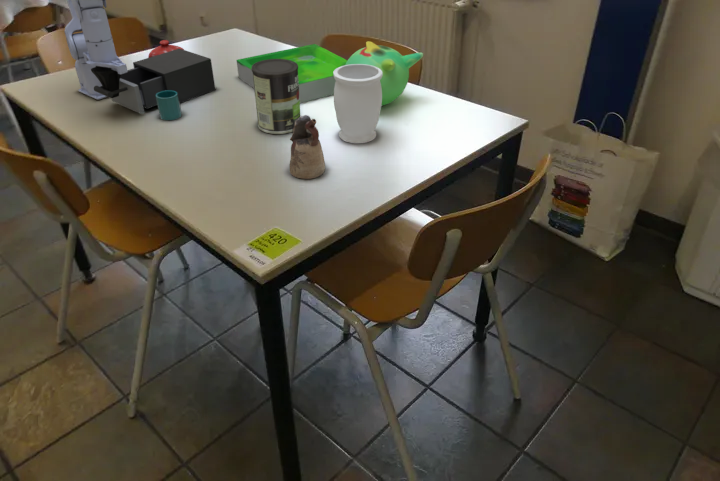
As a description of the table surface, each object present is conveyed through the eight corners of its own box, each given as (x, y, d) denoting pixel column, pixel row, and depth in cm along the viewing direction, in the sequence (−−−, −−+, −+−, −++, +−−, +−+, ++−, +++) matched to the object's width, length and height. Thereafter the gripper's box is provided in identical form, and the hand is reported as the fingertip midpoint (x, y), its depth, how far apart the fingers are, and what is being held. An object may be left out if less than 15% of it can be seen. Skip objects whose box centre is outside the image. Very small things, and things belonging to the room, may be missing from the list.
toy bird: (366, 85, 154) (367, 29, 146) (422, 97, 147) (426, 40, 139) (330, 107, 142) (328, 49, 133) (389, 123, 135) (391, 62, 126)
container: (155, 116, 137) (150, 94, 134) (173, 109, 140) (168, 88, 137) (168, 122, 135) (164, 100, 131) (186, 115, 138) (182, 93, 135)
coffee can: (306, 117, 137) (303, 60, 129) (294, 136, 129) (290, 76, 121) (266, 114, 139) (260, 56, 130) (251, 132, 131) (244, 72, 122)
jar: (346, 150, 124) (346, 83, 115) (327, 131, 131) (325, 67, 122) (389, 140, 128) (391, 75, 119) (367, 122, 135) (368, 60, 126)
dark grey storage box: (170, 106, 142) (164, 74, 137) (140, 94, 148) (132, 62, 143) (215, 89, 151) (210, 58, 146) (185, 78, 157) (179, 48, 152)
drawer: (120, 120, 133) (113, 93, 129) (93, 108, 139) (85, 81, 135) (185, 96, 145) (180, 71, 141) (157, 85, 151) (152, 60, 147)
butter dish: (177, 79, 157) (171, 48, 152) (140, 75, 159) (133, 44, 154) (198, 66, 166) (193, 36, 160) (163, 62, 168) (157, 32, 163)
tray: (363, 86, 153) (363, 68, 150) (281, 107, 142) (279, 88, 139) (315, 60, 170) (314, 43, 167) (238, 77, 158) (236, 59, 155)
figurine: (309, 159, 120) (306, 105, 113) (332, 170, 116) (330, 116, 109) (283, 170, 116) (278, 116, 109) (306, 183, 112) (303, 127, 105)
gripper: (64, 36, 129) (81, 94, 137) (100, 49, 121) (116, 109, 130) (93, 29, 133) (108, 85, 141) (129, 41, 126) (142, 100, 134)
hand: (113, 96), depth 136 cm, fingers closed, pressing on drawer
